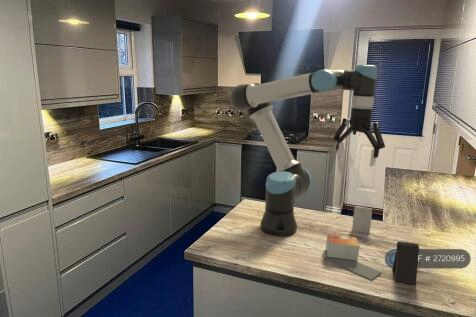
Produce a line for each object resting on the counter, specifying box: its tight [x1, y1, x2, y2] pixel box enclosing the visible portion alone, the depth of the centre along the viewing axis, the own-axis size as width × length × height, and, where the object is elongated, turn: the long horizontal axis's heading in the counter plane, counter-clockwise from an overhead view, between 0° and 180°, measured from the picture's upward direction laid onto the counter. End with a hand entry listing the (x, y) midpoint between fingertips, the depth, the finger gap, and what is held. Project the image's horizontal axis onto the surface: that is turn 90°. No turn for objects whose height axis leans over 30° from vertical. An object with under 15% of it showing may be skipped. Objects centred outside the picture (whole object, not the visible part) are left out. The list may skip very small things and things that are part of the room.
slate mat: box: [323, 256, 382, 282], centre depth 123 cm, size 18×6×1 cm, turn 43°
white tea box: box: [351, 205, 373, 234], centre depth 149 cm, size 4×7×10 cm, turn 64°
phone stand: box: [391, 241, 420, 287], centre depth 115 cm, size 9×6×12 cm, turn 163°
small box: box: [325, 233, 360, 261], centre depth 129 cm, size 8×6×10 cm
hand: (355, 161), depth 140 cm, fingers open, 13 cm apart
